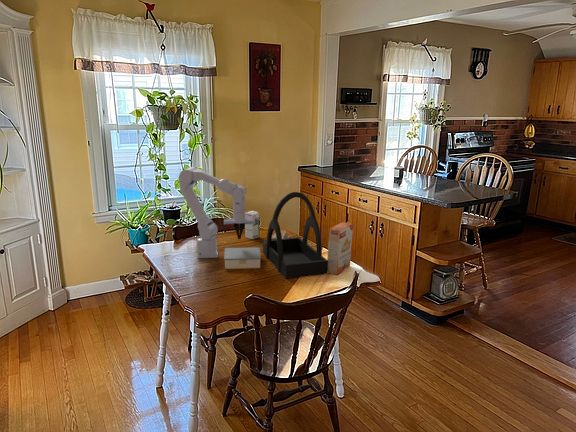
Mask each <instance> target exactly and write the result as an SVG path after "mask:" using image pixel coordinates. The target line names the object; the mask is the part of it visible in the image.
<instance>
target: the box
mask: <svg viewBox="0 0 576 432" xmlns="http://www.w3.org/2000/svg"><path fill="white" fill-rule="evenodd" d="M260 268H261V259H250V260H224V269H227V270H230V269H231V270H232V269H233V270H234V269H260Z"/></svg>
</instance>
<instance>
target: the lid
mask: <svg viewBox="0 0 576 432" xmlns="http://www.w3.org/2000/svg"><path fill="white" fill-rule="evenodd" d="M223 257H224V258H223V260H224V261H225V260H250V259H260V260H261V259H262V256H261V250H260V247H225V248H224V255H223Z"/></svg>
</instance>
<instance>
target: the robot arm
mask: <svg viewBox="0 0 576 432" xmlns="http://www.w3.org/2000/svg"><path fill="white" fill-rule="evenodd" d="M178 180H179V191H180V192H181V195H182V196H183V199H184V200H185V201H186V204H187V205H188V207H189V209H190V211H191V212H192V214H193V216H194V219H195V220H196V222H197V229H198V232H199V237H200V238H199V237H198V238H197V240H196V241H197V242H196V246H197V247H196V248H197V249H196V253H197V259H211V258H212V259H217V258H218V255H219V254H218V253H219V251H217V250H218V247H217V246H218V245H217V243H218V242H217V233H218V231H219V227H218V225H217V224H216V223H215V222H214V221H213V220H212V219H211V218H210V217H209V216H208V215H207V213H206V212H205V209H204V208H203V205H202V203H201V202H200V200H199V199H198V197H197V195H196V193H195V191H194V189H193V188H194V185H195V183H196V182H198V181H203V182H206V183H208V184H211V185H213V186H216V187H217V189H218V191H221V192H223V193H225V194H227V195H230V196H231V197H232V205H233V206H232V208H233V209H232V215H233V216H232V217H233V218H229V219H228V218H227V219H223V225H233V228H234V231H235V232H236V235H237V239H238V240H242V234H243V231H244V230H245V224H253V225H255V220H251V219H245V213H246V195H247V192H248V191H247V190H248V189H247V188H246V186H244V185H243V184H238V183H237V182H236V183H234V182H232V181H230V179H229V178H222V179H219V178H217V177H215V176H214V175H212V174H209V173H208V172H205V171H204V170H202V169H200V168H197V167H195V166H191V167H189V168H185V169H182V170H181V171H180V173H179V175H178Z"/></svg>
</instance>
